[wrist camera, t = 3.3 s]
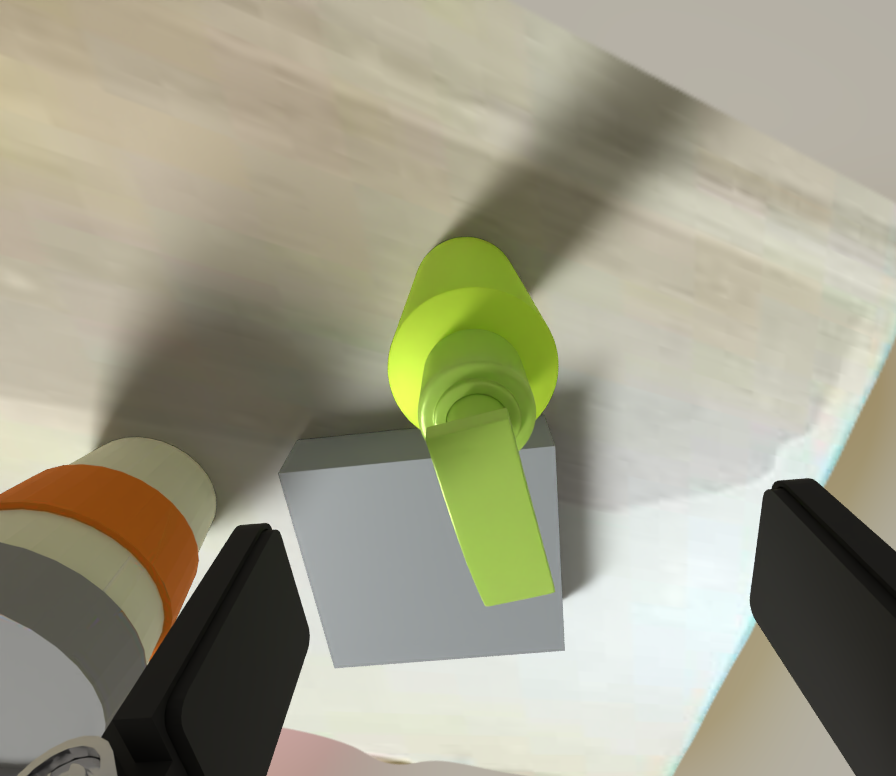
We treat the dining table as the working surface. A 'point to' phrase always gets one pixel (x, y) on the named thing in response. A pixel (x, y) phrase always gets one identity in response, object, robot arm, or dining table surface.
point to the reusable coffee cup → (91, 586)
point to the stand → (409, 553)
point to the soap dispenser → (479, 405)
